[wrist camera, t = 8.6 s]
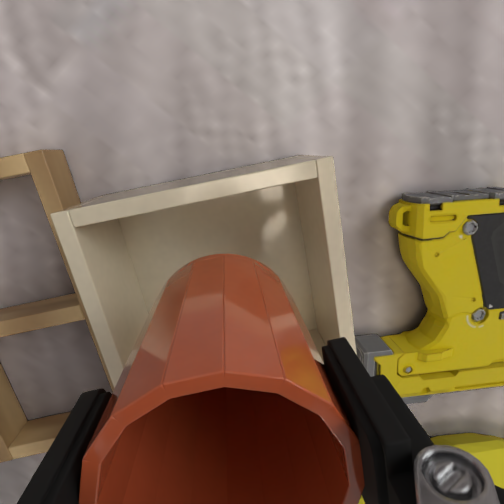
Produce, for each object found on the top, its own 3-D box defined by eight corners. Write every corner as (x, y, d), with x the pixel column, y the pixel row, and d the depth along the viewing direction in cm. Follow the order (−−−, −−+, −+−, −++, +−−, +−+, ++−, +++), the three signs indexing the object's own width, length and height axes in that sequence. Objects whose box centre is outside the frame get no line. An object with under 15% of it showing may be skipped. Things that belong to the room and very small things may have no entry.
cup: (174, 390, 17) (128, 615, 9) (136, 269, 15) (33, 412, 7) (302, 362, 17) (375, 559, 9) (281, 239, 15) (348, 343, 7)
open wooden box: (156, 367, 25) (133, 441, 19) (101, 195, 21) (49, 213, 15) (326, 331, 25) (361, 391, 19) (301, 154, 21) (333, 155, 15)
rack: (19, 434, 25) (-2, 463, 23) (-104, 183, 20) (-148, 187, 18) (150, 405, 26) (142, 431, 23) (63, 149, 20) (41, 149, 18)
